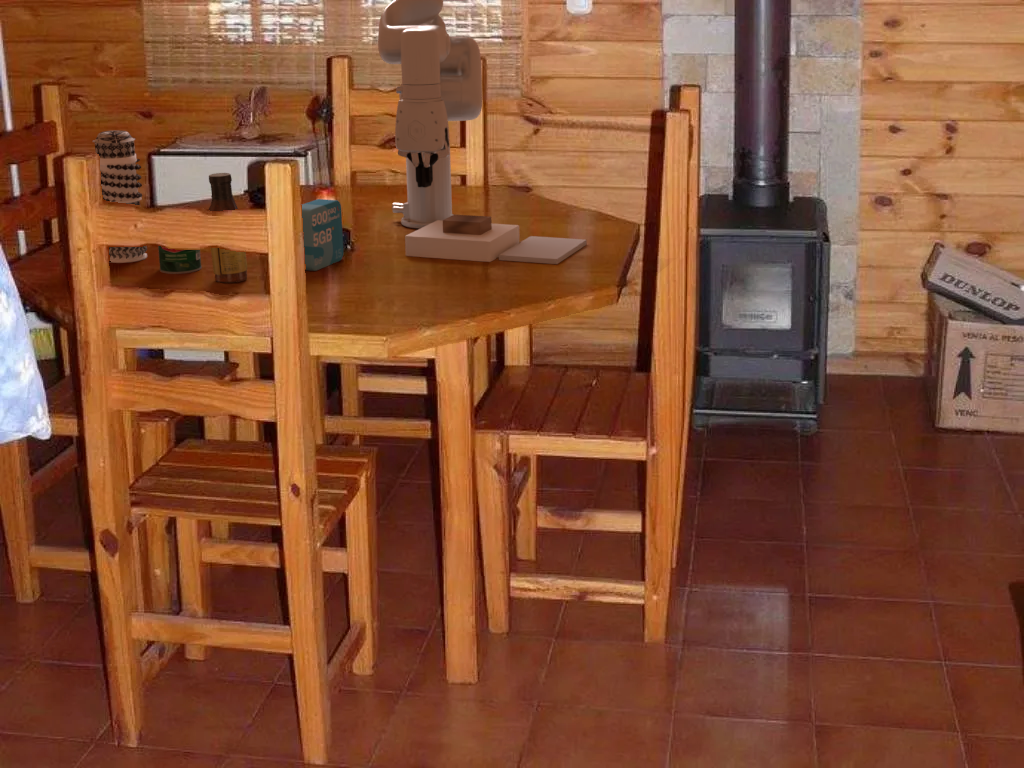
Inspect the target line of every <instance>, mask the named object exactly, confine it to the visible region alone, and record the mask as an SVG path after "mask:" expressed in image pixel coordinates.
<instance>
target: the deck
mask: <svg viewBox="0 0 1024 768" xmlns="http://www.w3.org/2000/svg"><path fill="white" fill-rule="evenodd" d="M404 241H405V242H404V243H405V245H404V246H405V256H406V257H414V258H415V257H416V258H417V257H418V258H419V257H421V258H432V259H442V260H443V259H445V260H458V261H459V260H460V261H472V262H473V261H474V262H488V263H491V262H492V261H493V262H494V261H495V260H496V259H499V255H500V254H501V253H503V252H505V251H506V250H508V249H510V248H511V247H513V246H515V245H517V244H518V243H520V224H519V225H518V224H506V223H505V224H504V223H492V229H491V230H489V231H487V232H485V233H483V234H482V235H471V234H456V233H443V220H437V221H435V222H433V223H431V224H429V225H427V226H425V227H422V228H417V229H416V230H414V231H412V232H410V233H408V234H406V235H405V236H404Z"/></svg>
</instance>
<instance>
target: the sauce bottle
mask: <svg viewBox="0 0 1024 768" xmlns="http://www.w3.org/2000/svg"><path fill="white" fill-rule="evenodd" d="M232 179H233V178H232V173H229V172H216V173H211V174H209V175H208V182H209V184H210V191H211V201H210V202H211V203H210V206H209V207H208V210H210V211H223V210H235V209H238V210H239V208H238V206H237V203H236V200H235V199H234V196H233V189H232V181H233V180H232ZM210 252H211V263H212V271H213V274H214V280H215V282H217V283H222V284H233V283H234V284H235V283H240V282H243V281H245V280H247V278H248V262H247V261H248V260H247V255H246V254H247V252H236V251H230V250H225V249H220V248H211V247H210Z"/></svg>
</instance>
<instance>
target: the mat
mask: <svg viewBox="0 0 1024 768" xmlns="http://www.w3.org/2000/svg"><path fill="white" fill-rule="evenodd" d="M585 246H587V239H581V238H580V239H579V238H568V237H567V238H566V237H565V238H564V237H552V236H551V237H550V236H536V235H534V236H533V235H530V236H528V237H527V238H525V239H524V240H521V241H519V243H518V244H517V245H515V246H513V247H511V248H510V249H508V250H506V251H505V252H503V253H501V254H500V255H499V257H498V260H499V261H507V262H521V263H523V262H524V263H534V264H535V263H536V264H537V263H538V264H549V265H558V264H559V263H561V262H562V261H564V260H565V259H567V258H568V257H571V256H572V255H573V254H575V253H576V252H578V251H579V250H580V249H582V248H584V247H585Z"/></svg>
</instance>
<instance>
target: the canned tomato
mask: <svg viewBox="0 0 1024 768" xmlns="http://www.w3.org/2000/svg"><path fill="white" fill-rule="evenodd" d="M157 248H158V249H157V250H158V262H159V271H160V273H163V274H168V275H182V274H183V275H184V274H189V273H195V272H198V271H200V270H201V269H202V259H201V249H200V250H175V249H168V248H165V247H161V246H158V245H157Z"/></svg>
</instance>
